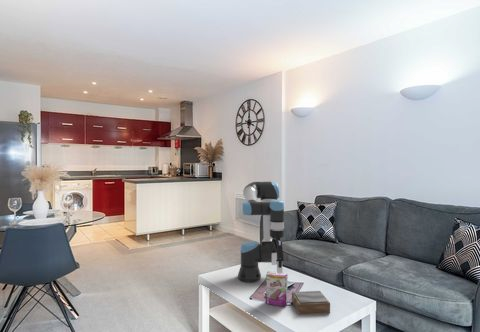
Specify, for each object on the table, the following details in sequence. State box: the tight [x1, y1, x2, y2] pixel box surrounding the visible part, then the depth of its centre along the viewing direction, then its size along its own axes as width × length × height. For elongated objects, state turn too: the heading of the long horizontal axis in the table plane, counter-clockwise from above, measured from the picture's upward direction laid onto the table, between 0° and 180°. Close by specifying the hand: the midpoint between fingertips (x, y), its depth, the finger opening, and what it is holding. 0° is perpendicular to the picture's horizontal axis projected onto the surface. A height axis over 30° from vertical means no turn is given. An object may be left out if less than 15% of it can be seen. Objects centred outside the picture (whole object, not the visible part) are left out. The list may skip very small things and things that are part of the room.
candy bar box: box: [265, 270, 289, 308], centre depth 161 cm, size 11×5×16 cm, turn 74°
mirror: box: [291, 290, 331, 315], centre depth 158 cm, size 14×16×6 cm
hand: (276, 268), depth 161 cm, fingers open, 13 cm apart
